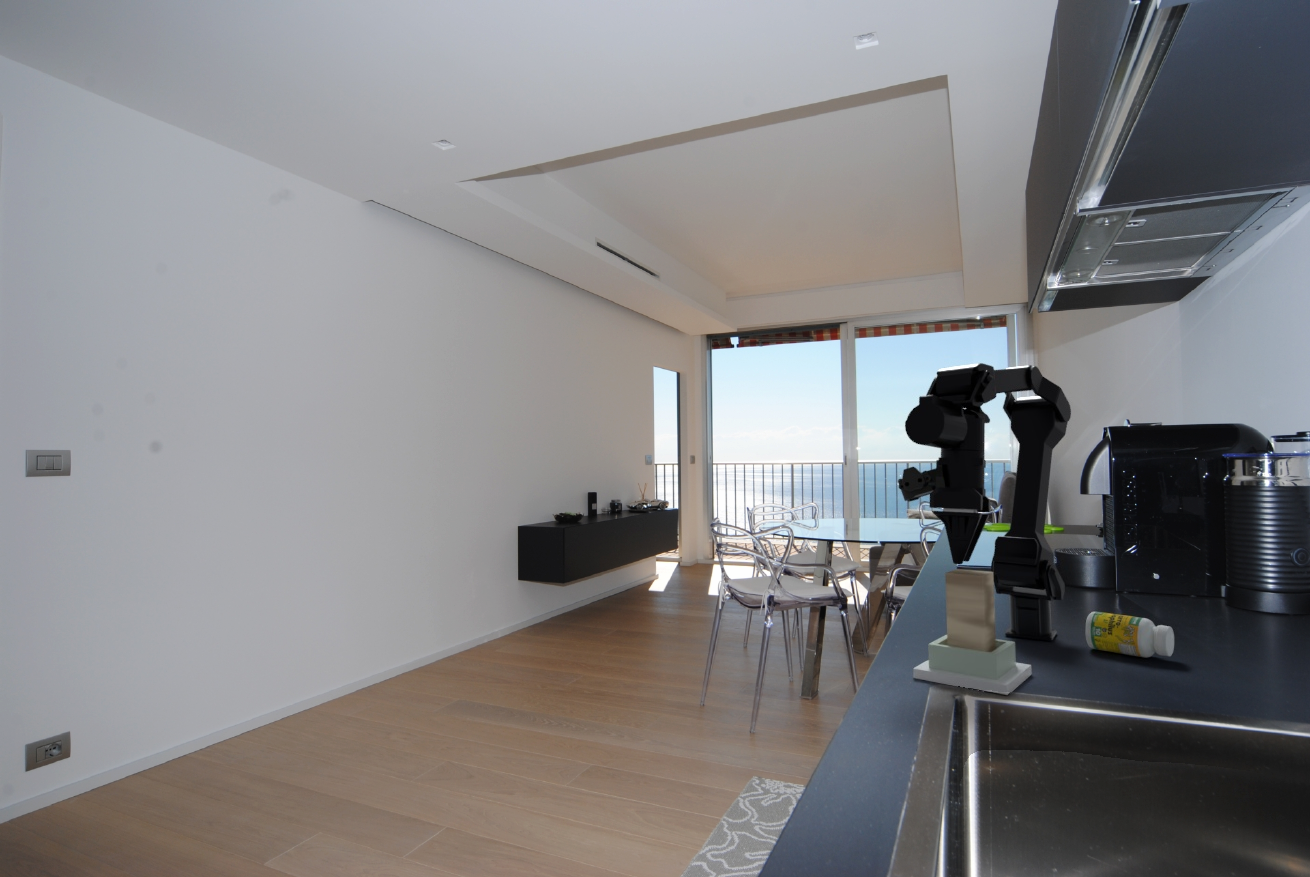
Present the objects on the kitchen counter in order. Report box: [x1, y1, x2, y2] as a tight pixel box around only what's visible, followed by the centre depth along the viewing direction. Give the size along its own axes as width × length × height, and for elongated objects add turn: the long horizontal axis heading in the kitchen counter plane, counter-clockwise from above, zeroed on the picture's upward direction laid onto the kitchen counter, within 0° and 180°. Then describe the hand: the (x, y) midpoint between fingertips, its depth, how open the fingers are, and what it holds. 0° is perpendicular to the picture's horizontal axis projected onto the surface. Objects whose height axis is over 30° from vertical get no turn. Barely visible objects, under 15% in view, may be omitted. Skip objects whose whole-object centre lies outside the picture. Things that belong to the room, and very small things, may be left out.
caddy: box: [912, 634, 1033, 693], centre depth 88 cm, size 11×11×4 cm
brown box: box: [944, 568, 997, 652], centre depth 88 cm, size 4×4×12 cm
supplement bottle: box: [1085, 611, 1175, 659], centre depth 97 cm, size 5×5×10 cm
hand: (961, 562), depth 97 cm, fingers open, 9 cm apart
